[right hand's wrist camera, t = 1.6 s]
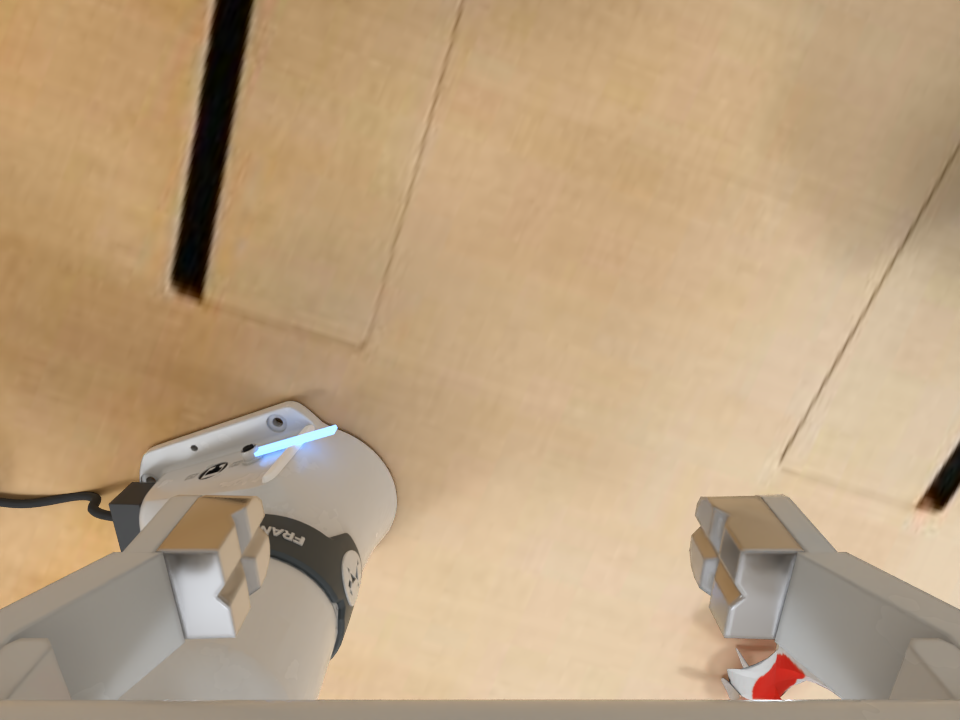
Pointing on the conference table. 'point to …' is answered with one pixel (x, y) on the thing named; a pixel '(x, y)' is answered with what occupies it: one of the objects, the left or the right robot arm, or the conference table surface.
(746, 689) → the fish
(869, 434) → the conference table surface
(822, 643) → the right robot arm
